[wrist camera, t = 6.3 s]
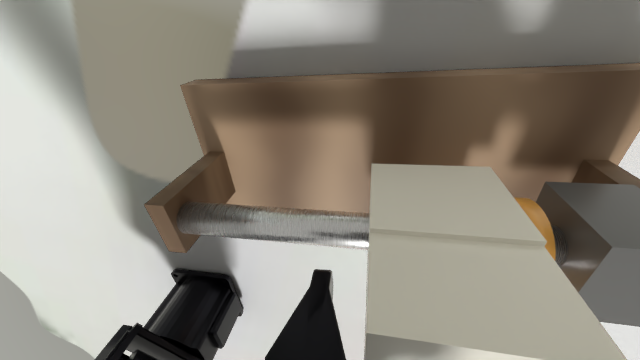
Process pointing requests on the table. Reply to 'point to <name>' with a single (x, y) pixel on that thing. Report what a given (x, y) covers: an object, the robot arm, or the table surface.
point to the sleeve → (466, 274)
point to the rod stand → (420, 160)
